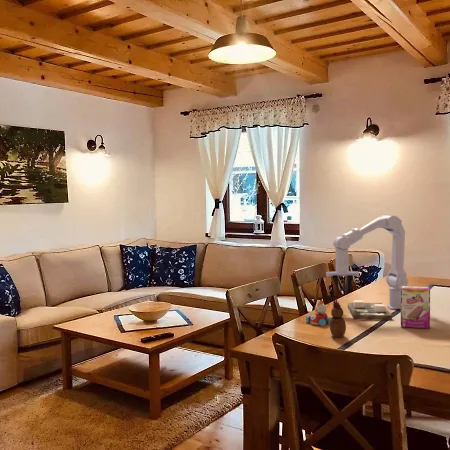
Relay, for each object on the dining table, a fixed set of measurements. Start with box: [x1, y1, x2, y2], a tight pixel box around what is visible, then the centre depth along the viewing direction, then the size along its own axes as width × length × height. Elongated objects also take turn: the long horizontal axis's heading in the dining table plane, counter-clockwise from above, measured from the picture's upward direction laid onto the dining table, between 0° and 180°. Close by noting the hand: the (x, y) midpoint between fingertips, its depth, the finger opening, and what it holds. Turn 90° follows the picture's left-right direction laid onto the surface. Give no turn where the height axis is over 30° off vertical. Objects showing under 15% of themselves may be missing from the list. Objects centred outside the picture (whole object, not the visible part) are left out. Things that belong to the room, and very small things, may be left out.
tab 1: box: [353, 299, 365, 308], centre depth 226 cm, size 4×4×2 cm
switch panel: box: [347, 302, 393, 321], centre depth 222 cm, size 16×24×2 cm, turn 172°
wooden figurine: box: [329, 296, 347, 338], centre depth 189 cm, size 7×6×15 cm
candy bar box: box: [400, 285, 431, 330], centre depth 197 cm, size 11×5×16 cm, turn 71°
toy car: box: [305, 300, 332, 327], centre depth 209 cm, size 9×9×10 cm
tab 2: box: [374, 303, 386, 312], centre depth 217 cm, size 4×4×2 cm
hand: (342, 291), depth 226 cm, fingers open, 4 cm apart
